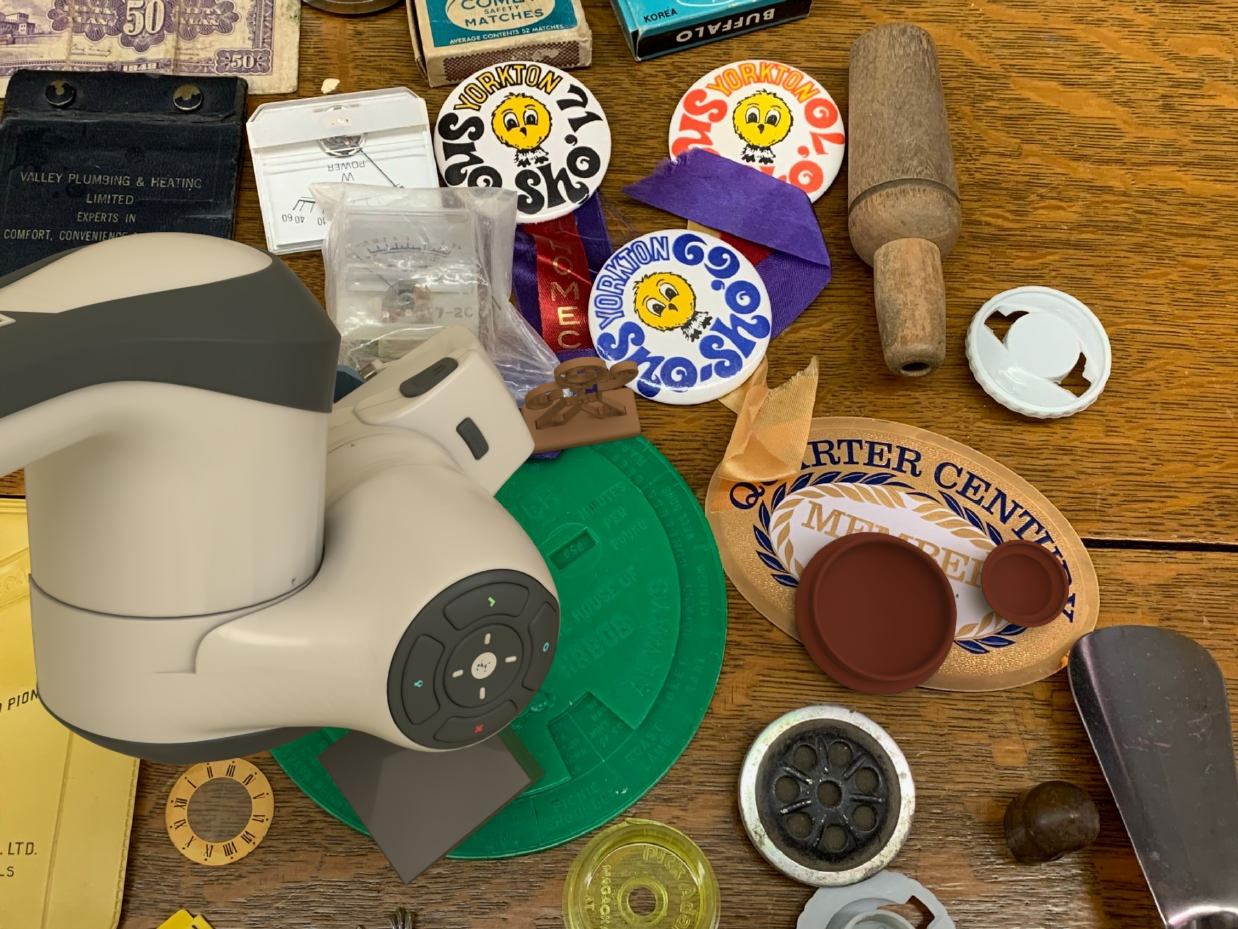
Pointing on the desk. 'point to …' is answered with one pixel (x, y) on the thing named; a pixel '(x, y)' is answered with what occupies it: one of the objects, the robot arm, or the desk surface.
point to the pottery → (909, 606)
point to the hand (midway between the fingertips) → (308, 419)
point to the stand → (427, 792)
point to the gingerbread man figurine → (582, 406)
